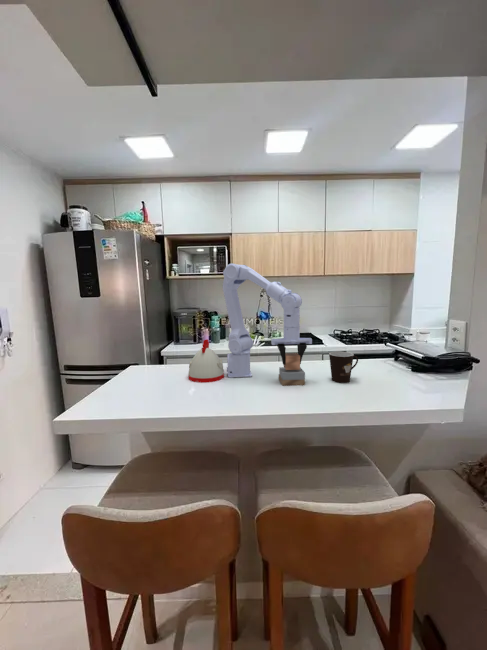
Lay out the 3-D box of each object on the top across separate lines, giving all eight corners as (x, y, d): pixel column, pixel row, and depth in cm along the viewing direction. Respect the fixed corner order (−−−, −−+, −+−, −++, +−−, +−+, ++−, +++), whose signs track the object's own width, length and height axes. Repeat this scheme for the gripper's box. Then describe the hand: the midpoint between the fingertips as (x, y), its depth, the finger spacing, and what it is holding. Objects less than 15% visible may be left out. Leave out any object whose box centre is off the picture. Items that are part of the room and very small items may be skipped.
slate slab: (282, 379, 109) (282, 373, 108) (279, 373, 117) (279, 367, 116) (304, 379, 109) (305, 372, 109) (300, 373, 117) (300, 367, 117)
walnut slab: (282, 387, 109) (282, 380, 108) (278, 380, 117) (278, 374, 116) (304, 386, 109) (304, 379, 109) (299, 379, 117) (299, 373, 117)
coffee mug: (331, 384, 110) (332, 356, 109) (326, 377, 118) (326, 351, 117) (364, 383, 109) (365, 356, 108) (356, 376, 118) (357, 351, 117)
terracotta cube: (286, 370, 109) (286, 356, 109) (283, 366, 114) (283, 353, 114) (300, 369, 110) (300, 355, 109) (296, 366, 115) (296, 353, 114)
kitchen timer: (227, 373, 127) (226, 337, 125) (219, 383, 113) (218, 343, 112) (194, 372, 129) (193, 337, 127) (183, 382, 115) (182, 343, 114)
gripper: (273, 328, 106) (273, 367, 108) (314, 327, 107) (314, 365, 108) (270, 326, 113) (270, 362, 115) (309, 325, 114) (308, 361, 115)
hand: (291, 363), depth 112 cm, fingers closed on terracotta cube, 5 cm apart
